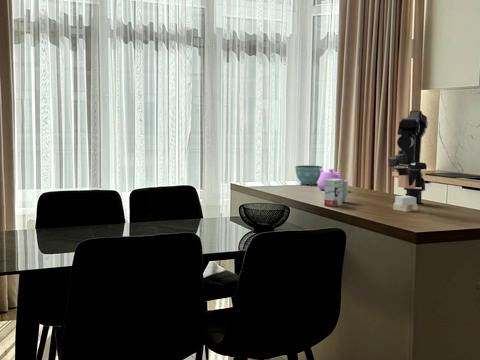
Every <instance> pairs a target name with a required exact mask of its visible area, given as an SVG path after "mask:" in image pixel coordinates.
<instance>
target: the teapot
mask: <svg viewBox="0 0 480 360" xmlns="http://www.w3.org/2000/svg"><path fill="white" fill-rule="evenodd" d="M320 172H321V174H320V177H319V179H318V181H317V187H318V188H319V190H322V189H323V190H322V191H325V179H343V180H344V178H343V176H342V174H341V172H339V171H335V169H334V168H329V169H328V171H324V170H323V168H322V169H320Z"/></svg>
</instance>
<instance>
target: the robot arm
mask: <svg viewBox="0 0 480 360" xmlns="http://www.w3.org/2000/svg"><path fill="white" fill-rule="evenodd" d="M427 129H428V117H427V116H426V115H425V114H423V111H422V110H414V109H413V110H410V111H409V114H408V116H407V117H404V118H401V120H400V121H399V123H398V130H397V135H400V136H399V137H398V138H397V141H396V145H397V147H398V148H400V150H398V152H397V154H395V155H392V156H391V157H388V164H389V165H388V167H391V168H392V167H393V170H395V171H396V173H397V174H398V175H409V186H412V184H413V182H414V180H415V188H403V190H404V191H405V190H406V191H405V196H412V197H416V204H417V205H420V204H421V205H422V204H424V202H422V193H423V192H425V191H426V180H425V179H424V177H423V173H422V171H425V170H427V167H428V166H427V163H426V162H421V152H422V139H423V137H424V136H425V134H426V133H427V132H426V131H427Z"/></svg>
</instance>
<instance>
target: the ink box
mask: <svg viewBox="0 0 480 360" xmlns="http://www.w3.org/2000/svg"><path fill="white" fill-rule="evenodd" d="M343 180H344V178H343V179H325V190H324V204H323V205H324V206H325V207H331V206H332V207H333V208H335V207H338V206H342V205H343V202H342V186H343ZM334 206H335V207H334Z"/></svg>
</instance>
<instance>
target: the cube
mask: <svg viewBox="0 0 480 360" xmlns="http://www.w3.org/2000/svg"><path fill="white" fill-rule="evenodd" d="M397 177H398V180H397V181H398V182H397V187H398V188H401V189H402V188H403V189H404V188H416V187H415V180H414V182H413V184H412V186H409V175H399V174H398V176H397Z"/></svg>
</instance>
